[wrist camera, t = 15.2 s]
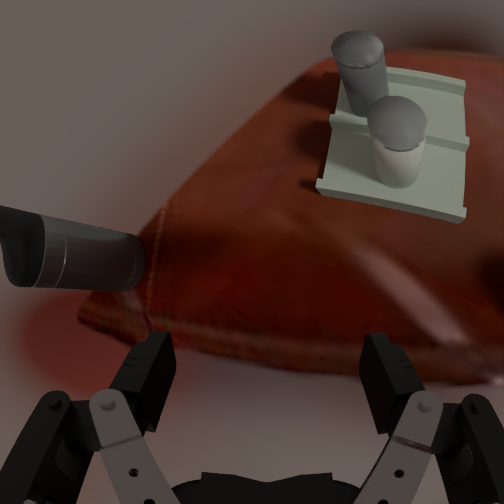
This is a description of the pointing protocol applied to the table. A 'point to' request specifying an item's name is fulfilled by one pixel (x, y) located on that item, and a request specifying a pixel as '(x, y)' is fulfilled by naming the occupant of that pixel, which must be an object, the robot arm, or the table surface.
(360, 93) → the grey cylinder
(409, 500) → the robot arm
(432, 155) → the divided tray
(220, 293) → the table surface
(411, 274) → the table surface
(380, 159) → the white cylinder
